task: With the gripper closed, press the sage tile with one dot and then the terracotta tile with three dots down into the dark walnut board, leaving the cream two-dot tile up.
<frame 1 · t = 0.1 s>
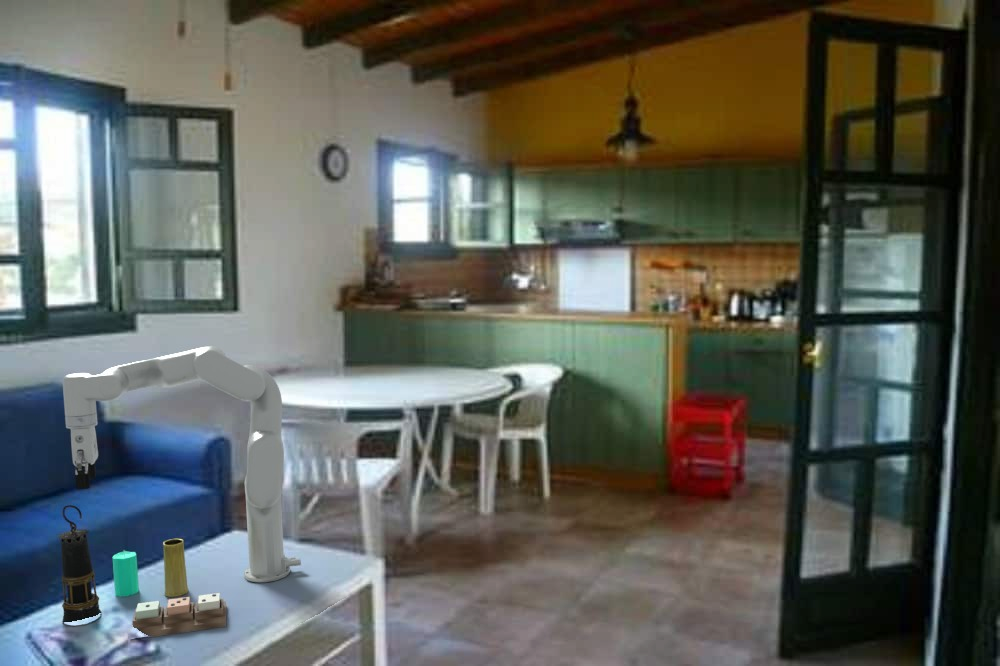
hand: (86, 483, 234), 31 cm above the table, tool pointing down, fingers open, 9 cm apart
vase: (176, 593, 239), on the table
tile board: (179, 622, 220), on the table
candle: (127, 592, 240), on the table
tile one dot: (148, 610, 218), point 4 cm above the table, slide at 0.0 cm
tile three dots: (178, 606, 220), point 4 cm above the table, slide at 0.0 cm
lantern: (82, 619, 224), on the table
tile two dots: (209, 602, 222), point 4 cm above the table, slide at 0.0 cm
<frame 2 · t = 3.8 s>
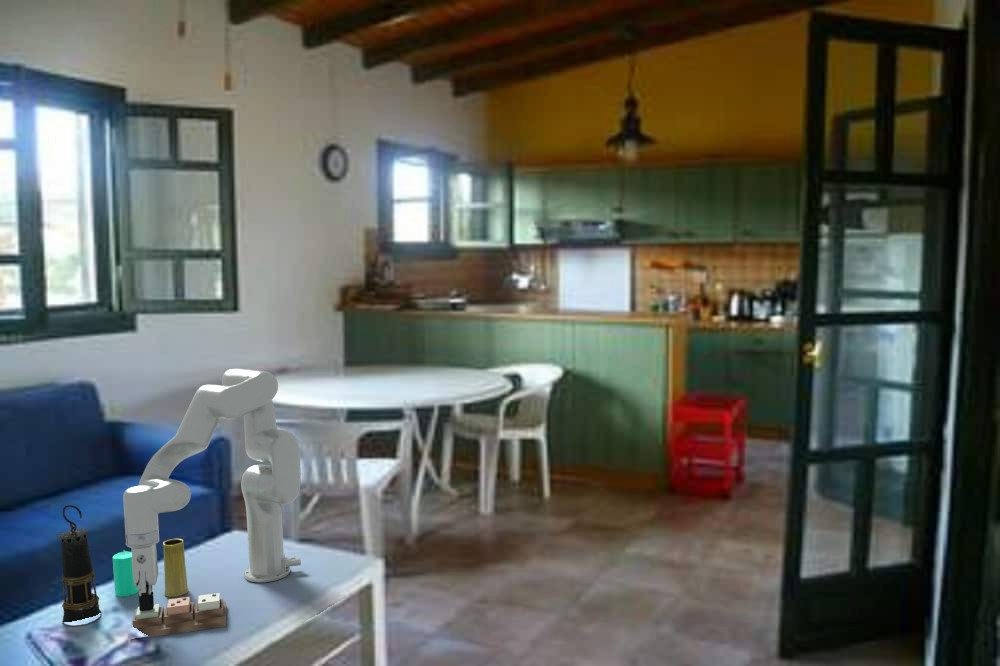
hand: (146, 608, 218), 5 cm above the table, tool pointing down, fingers closed
tile one dot: (148, 613, 218), point 3 cm above the table, slide at 0.8 cm, touching gripper
everything else where it was.
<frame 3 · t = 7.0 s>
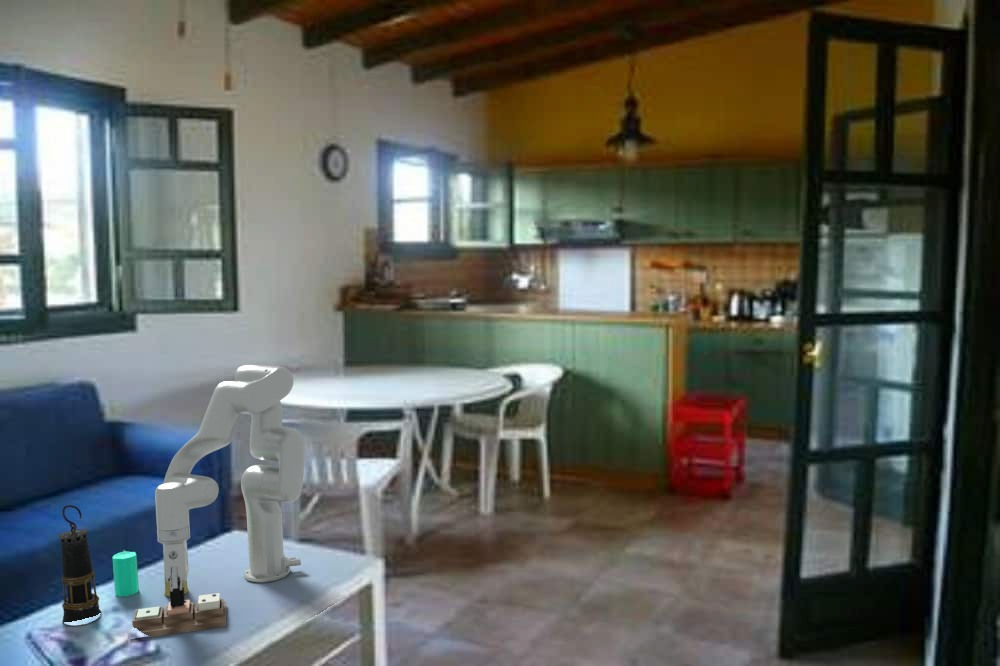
hand: (177, 604, 220), 5 cm above the table, tool pointing down, fingers closed
tile one dot: (148, 616, 218), point 3 cm above the table, slide at 1.5 cm, touching tile board
tile three dots: (179, 609, 220), point 4 cm above the table, slide at 0.7 cm, touching gripper
everything else where it was.
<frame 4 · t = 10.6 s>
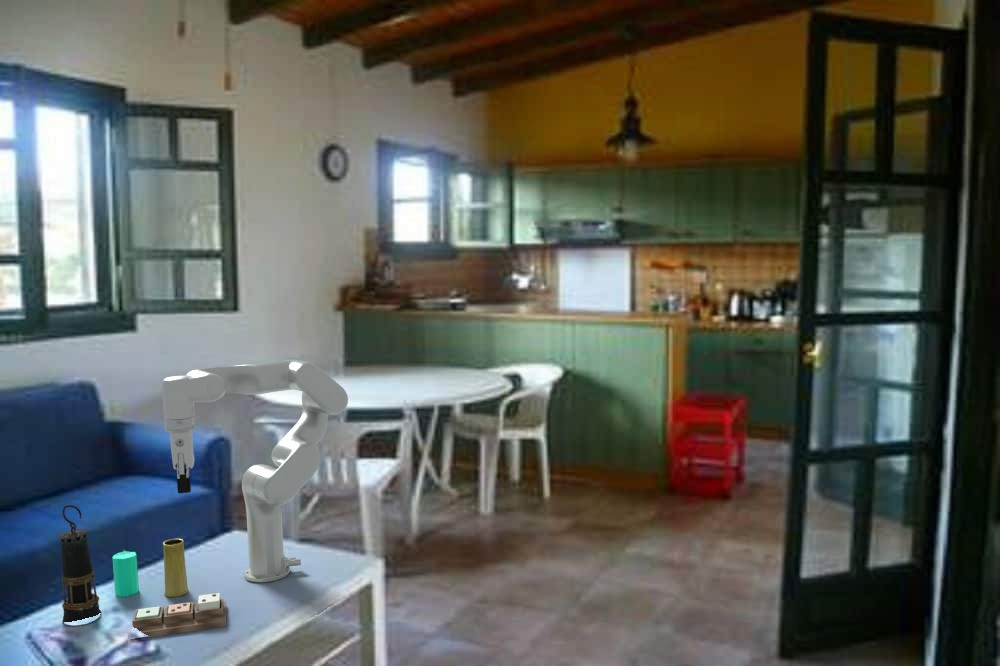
hand: (184, 492, 232), 29 cm above the table, tool pointing down, fingers closed
tile three dots: (179, 611, 220), point 3 cm above the table, slide at 1.5 cm
everything else where it was.
at the end: tile one dot slide at 1.5 cm; tile three dots slide at 1.5 cm; tile two dots slide at 0.0 cm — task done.
